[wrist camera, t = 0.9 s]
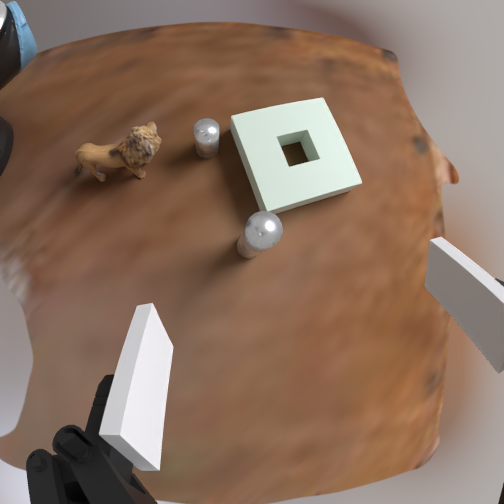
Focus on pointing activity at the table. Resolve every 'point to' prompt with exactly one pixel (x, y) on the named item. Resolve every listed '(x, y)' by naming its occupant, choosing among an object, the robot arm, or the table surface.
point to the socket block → (274, 162)
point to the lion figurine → (121, 152)
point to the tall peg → (259, 234)
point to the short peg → (206, 138)
